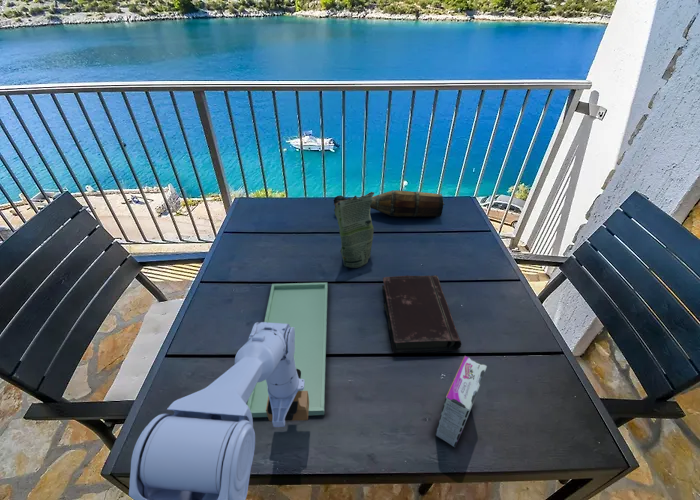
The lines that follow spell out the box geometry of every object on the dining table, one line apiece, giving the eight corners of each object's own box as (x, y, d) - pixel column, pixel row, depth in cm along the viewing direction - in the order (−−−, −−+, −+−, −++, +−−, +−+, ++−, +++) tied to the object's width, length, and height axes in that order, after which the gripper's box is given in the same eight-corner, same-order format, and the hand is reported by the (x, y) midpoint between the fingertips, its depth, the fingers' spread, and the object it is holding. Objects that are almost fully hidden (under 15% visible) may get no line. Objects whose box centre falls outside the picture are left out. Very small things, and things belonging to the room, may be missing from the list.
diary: (437, 285, 112) (439, 274, 109) (459, 351, 93) (463, 339, 90) (379, 287, 112) (380, 276, 109) (390, 354, 92) (391, 342, 89)
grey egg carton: (451, 395, 83) (464, 354, 73) (471, 406, 81) (488, 365, 71) (432, 435, 76) (445, 396, 66) (455, 449, 74) (471, 410, 64)
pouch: (334, 265, 120) (331, 203, 105) (345, 245, 129) (344, 185, 114) (365, 272, 118) (367, 208, 102) (374, 251, 127) (377, 190, 111)
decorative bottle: (439, 200, 149) (334, 196, 151) (445, 186, 139) (332, 182, 141) (440, 222, 145) (332, 218, 147) (446, 210, 135) (330, 206, 137)
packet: (307, 420, 72) (306, 409, 69) (269, 421, 72) (265, 410, 69) (309, 401, 75) (307, 390, 72) (272, 402, 75) (269, 391, 72)
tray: (324, 415, 80) (323, 410, 78) (247, 417, 79) (245, 413, 78) (327, 287, 112) (327, 282, 111) (272, 288, 112) (271, 283, 111)
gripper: (298, 409, 58) (305, 444, 67) (305, 338, 70) (310, 376, 78) (255, 410, 58) (268, 445, 67) (270, 338, 70) (279, 376, 78)
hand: (288, 407), depth 72 cm, fingers closed on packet, 4 cm apart
